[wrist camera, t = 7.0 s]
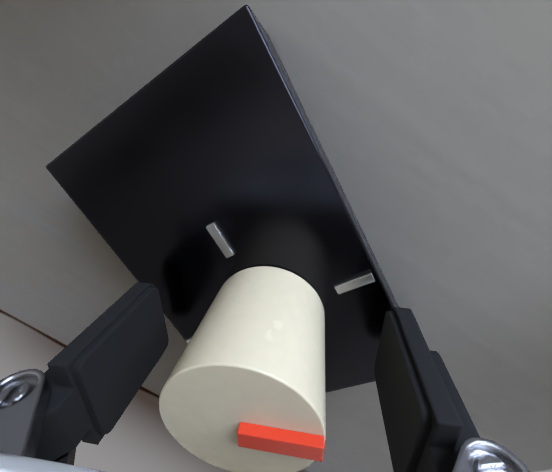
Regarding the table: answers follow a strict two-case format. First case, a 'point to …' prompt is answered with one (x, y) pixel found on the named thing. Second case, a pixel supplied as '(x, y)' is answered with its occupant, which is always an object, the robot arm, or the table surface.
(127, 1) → the table surface
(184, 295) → the hob panel
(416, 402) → the robot arm
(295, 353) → the hob knob
